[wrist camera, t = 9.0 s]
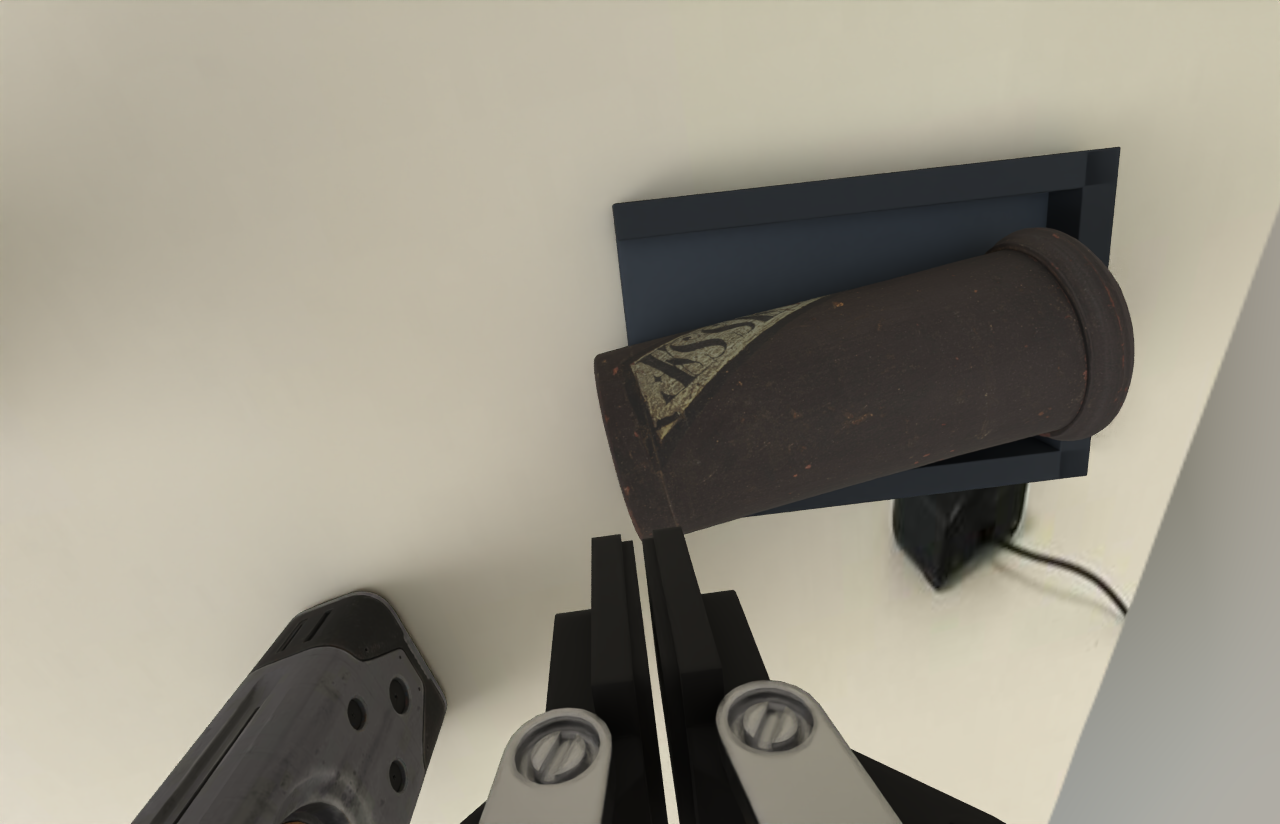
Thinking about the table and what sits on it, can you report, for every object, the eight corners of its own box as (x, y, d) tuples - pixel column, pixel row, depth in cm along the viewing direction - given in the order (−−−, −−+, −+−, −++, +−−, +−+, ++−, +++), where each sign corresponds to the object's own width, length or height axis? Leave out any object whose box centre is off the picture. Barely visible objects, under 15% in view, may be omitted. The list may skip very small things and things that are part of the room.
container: (610, 387, 33) (992, 282, 32) (653, 559, 30) (1072, 450, 29) (573, 316, 25) (1086, 172, 24) (627, 544, 22) (1207, 391, 21)
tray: (646, 507, 33) (650, 529, 31) (612, 205, 29) (612, 203, 26) (1053, 457, 34) (1087, 475, 31) (1079, 152, 29) (1121, 146, 27)
